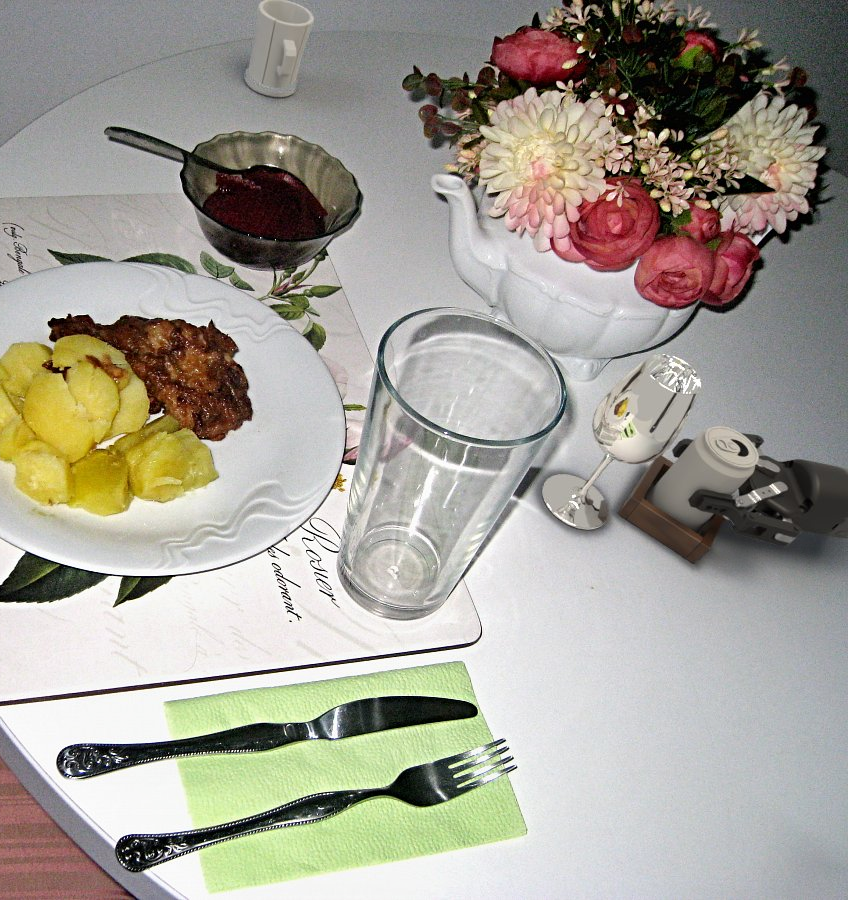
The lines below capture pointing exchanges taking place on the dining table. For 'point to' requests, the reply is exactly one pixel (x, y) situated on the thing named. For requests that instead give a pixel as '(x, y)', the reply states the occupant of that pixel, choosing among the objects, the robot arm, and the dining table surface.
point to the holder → (667, 518)
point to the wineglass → (628, 433)
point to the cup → (278, 45)
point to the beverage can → (704, 473)
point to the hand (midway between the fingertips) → (685, 472)
